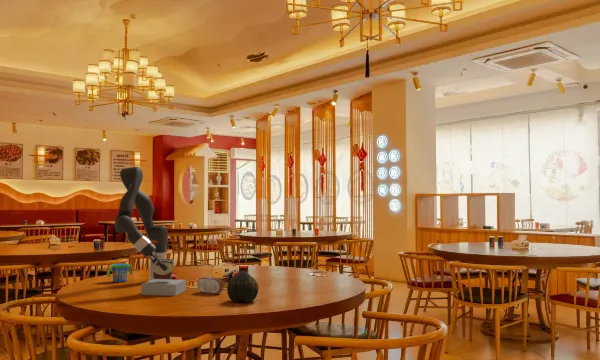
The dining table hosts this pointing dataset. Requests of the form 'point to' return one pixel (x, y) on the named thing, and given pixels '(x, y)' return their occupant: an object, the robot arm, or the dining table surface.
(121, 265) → the snack cup
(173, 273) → the pomegranate
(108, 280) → the dining table surface
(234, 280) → the squash
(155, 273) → the food container
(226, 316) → the dining table surface
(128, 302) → the dining table surface
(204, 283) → the tin
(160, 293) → the slate block
